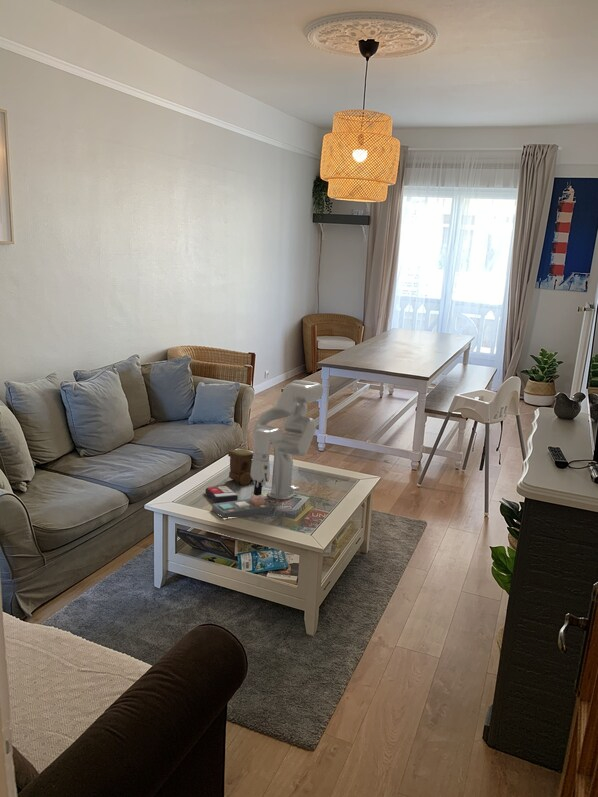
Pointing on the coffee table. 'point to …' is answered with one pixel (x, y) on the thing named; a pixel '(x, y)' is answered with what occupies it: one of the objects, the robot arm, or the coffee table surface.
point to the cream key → (242, 504)
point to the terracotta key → (257, 501)
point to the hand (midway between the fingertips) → (257, 494)
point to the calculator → (221, 494)
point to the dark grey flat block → (241, 509)
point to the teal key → (226, 507)
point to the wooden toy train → (240, 465)
